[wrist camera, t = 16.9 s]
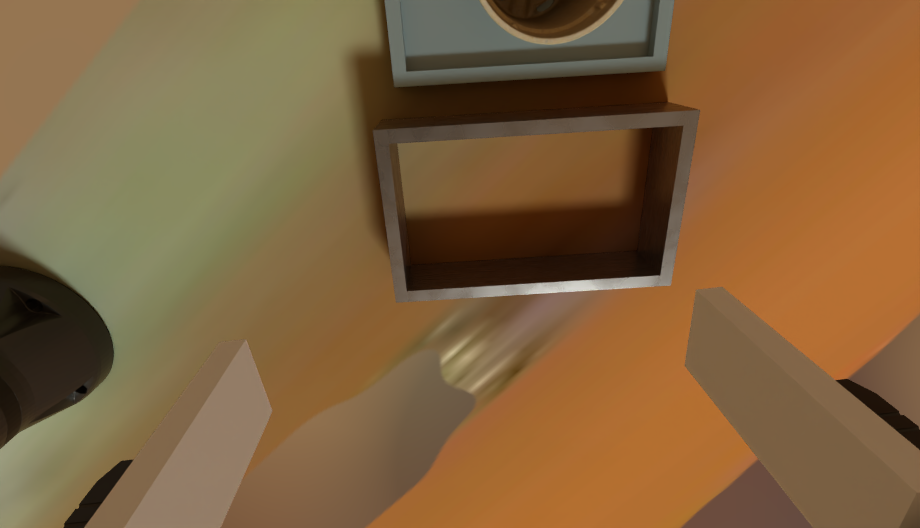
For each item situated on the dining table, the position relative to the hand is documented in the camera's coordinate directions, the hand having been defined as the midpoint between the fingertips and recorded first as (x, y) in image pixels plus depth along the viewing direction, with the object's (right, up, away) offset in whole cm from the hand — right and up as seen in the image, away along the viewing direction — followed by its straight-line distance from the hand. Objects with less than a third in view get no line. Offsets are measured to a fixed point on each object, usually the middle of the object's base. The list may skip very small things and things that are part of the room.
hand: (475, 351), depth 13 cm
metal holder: (+5, +9, +26) cm, 28 cm away
